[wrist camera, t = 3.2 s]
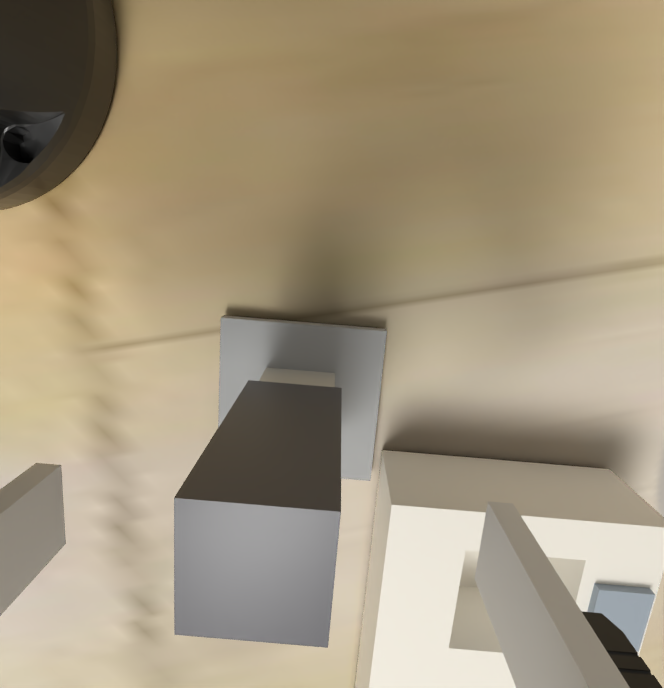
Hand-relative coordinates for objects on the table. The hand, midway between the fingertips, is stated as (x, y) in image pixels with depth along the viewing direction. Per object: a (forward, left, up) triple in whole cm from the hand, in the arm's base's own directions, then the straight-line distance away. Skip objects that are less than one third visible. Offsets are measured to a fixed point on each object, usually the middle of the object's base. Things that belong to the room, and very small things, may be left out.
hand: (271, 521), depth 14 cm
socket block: (+11, +10, -10) cm, 18 cm away
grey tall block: (0, 0, -9) cm, 9 cm away
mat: (0, 0, -10) cm, 10 cm away
